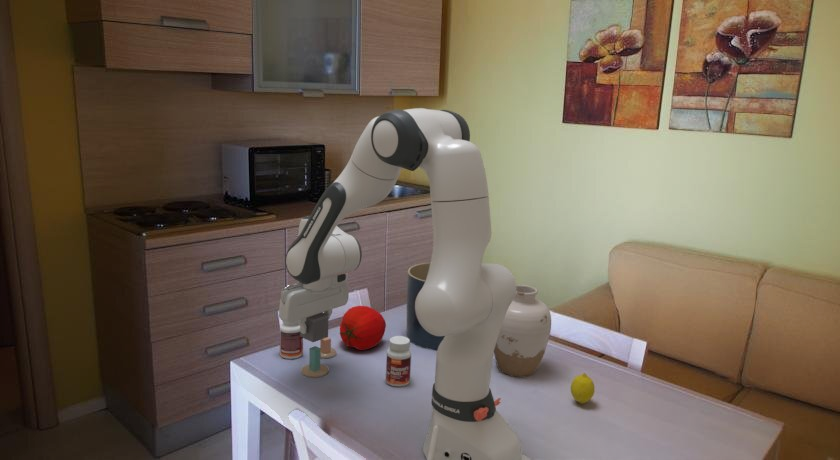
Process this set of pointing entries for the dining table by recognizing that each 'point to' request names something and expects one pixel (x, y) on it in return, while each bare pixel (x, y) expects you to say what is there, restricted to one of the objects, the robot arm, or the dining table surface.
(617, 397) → the dining table surface
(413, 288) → the planter
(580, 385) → the fruit
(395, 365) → the pill bottle
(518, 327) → the vase
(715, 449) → the dining table surface
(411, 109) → the robot arm
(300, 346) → the pill bottle
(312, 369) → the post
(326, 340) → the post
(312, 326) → the charcoal tapered box
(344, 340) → the tomato
